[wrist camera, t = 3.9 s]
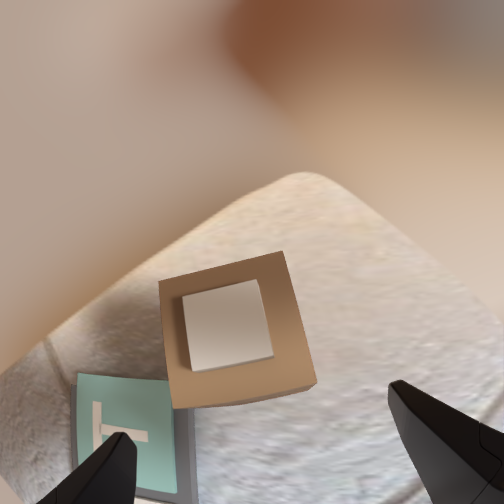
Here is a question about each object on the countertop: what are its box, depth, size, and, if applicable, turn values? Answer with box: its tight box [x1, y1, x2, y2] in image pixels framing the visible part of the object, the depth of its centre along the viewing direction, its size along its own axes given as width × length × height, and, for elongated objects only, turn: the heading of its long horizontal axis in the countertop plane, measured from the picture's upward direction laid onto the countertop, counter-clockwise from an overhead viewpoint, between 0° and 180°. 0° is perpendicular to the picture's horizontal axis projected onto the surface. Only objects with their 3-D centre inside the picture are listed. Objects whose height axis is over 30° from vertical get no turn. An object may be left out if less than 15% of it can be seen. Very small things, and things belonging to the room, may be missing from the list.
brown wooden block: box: [158, 251, 317, 409], centre depth 14 cm, size 4×4×12 cm
